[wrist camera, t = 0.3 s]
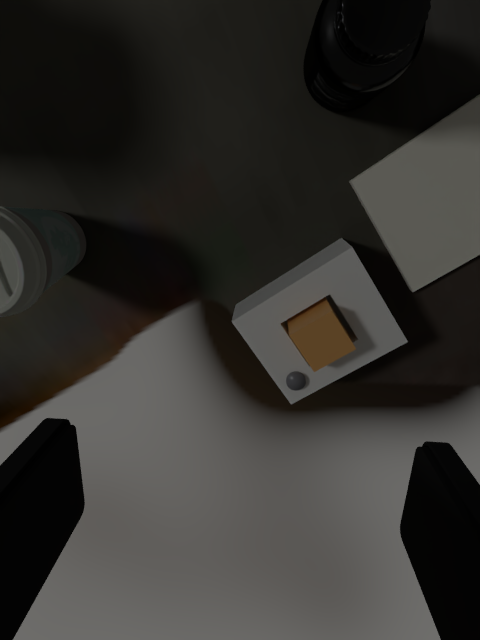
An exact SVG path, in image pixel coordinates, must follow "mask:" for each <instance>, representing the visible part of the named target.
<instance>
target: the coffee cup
mask: <svg viewBox="0 0 480 640" xmlns="http://www.w3.org/2000/svg"><path fill="white" fill-rule="evenodd" d="M85 252H86V238H85V235H84V232H83V230H82V228H81V227H80V225H79V224H78V223H77V221H76V220H74V219H73V218H72V217H71V216H69V215H68V214H66V213H63V212H61V211H56V210H43V209H27V208H11V207H1V206H0V317H4V316H9V315H14V314H17V313H20V312H23V311H25V310H27V309H28V308H30V307H31V306H32V305H33V304H34V303H35V302H36V301H37V300H38V299H39V297H40V296H41V294H42V293H43V292H44V291H45V290H46V289H48V288H49V287H50V286H52V285H53V284H54V283H55V282H57V281H58V280H59V279H60V278H62V277H63V276H64V275H65V274H67V273H68V272H69V271H70V270H72V269H73V268H74V267H75V266H76V265H78V264H79V263H80V262H81V260H82V259H83V257H84V255H85Z"/></svg>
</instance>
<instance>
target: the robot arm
mask: <svg viewBox="0 0 480 640" xmlns="http://www.w3.org/2000/svg"><path fill="white" fill-rule="evenodd" d="M84 503H85V502H84V493H83V484H82V476H81V467H80V459H79V450H78V442H77V434H76V428H75V426H74V425H70V422H69V420H67V419H53V418H46V419H45V420H43V421H42V422H41V423H40V424H39V425H38V426H37V428H36V429H35V430H34V431H33V432H32V433H31V434H30V435H29V436H28V437H27V438H26V439H25V440H24V441H23V442H22V444H20V445H19V446H18V448H17V449H16V450H15V451H14V452H13V453H12V454H11V455H10V456H9V457H8V458H7V459H6V460H5V461H4V462H3V463H2V464H1V465H0V640H13V638H14V636H15V635H16V633H17V631H18V629H19V627H20V626H21V624H22V622H23V620H24V618H25V617H26V615H27V613H28V611H29V610H30V608H31V606H32V604H33V602H34V601H35V599H36V597H37V595H38V593H39V592H40V590H41V588H42V586H43V584H44V583H45V581H46V579H47V577H48V575H49V574H50V572H51V570H52V568H53V566H54V565H55V563H56V561H57V559H58V557H59V556H60V554H61V552H62V550H63V548H64V547H65V545H66V543H67V541H68V539H69V538H70V536H71V534H72V532H73V530H74V529H75V527H76V525H77V523H78V521H79V520H80V518H81V516H82V513H83V510H84ZM400 533H401V538H402V541H403V544H404V546H405V549H406V551H407V554H408V556H409V559H410V562H411V564H412V567H413V569H414V571H415V574H416V577H417V580H418V582H419V584H420V587H421V590H422V592H423V595H424V597H425V600H426V603H427V605H428V608H429V610H430V613H431V615H432V618H433V621H434V623H435V626H436V628H437V631H438V633H439V636H440V638H441V640H480V485H479V483H478V482H477V481H476V479H475V478H474V476H473V475H472V474H471V472H470V471H469V470H468V468H467V467H466V465H465V464H464V463H463V461H462V460H461V458H460V457H459V456H458V455H457V453H456V452H455V450H454V449H453V447H452V446H451V445H450V444H449V443H442V442H425V443H424V444H423V446H422V447H417V449H416V452H415V456H414V461H413V466H412V471H411V476H410V480H409V485H408V490H407V495H406V500H405V504H404V510H403V514H402V519H401V524H400Z"/></svg>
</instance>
